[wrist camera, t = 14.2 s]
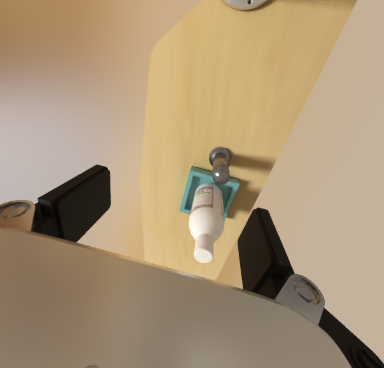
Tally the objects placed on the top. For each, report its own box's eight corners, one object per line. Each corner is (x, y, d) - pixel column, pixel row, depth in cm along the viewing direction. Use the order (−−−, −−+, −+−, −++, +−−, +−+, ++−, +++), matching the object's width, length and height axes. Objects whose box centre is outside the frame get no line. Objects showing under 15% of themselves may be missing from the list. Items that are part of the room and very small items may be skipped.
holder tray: (191, 166, 42) (190, 170, 39) (238, 179, 42) (239, 184, 39) (181, 205, 47) (179, 211, 45) (222, 216, 47) (223, 223, 45)
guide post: (223, 142, 39) (226, 157, 28) (234, 160, 40) (241, 181, 29) (205, 154, 40) (201, 172, 30) (216, 171, 42) (216, 194, 31)
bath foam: (190, 195, 44) (172, 256, 27) (206, 176, 42) (199, 231, 24) (210, 210, 46) (206, 278, 28) (227, 192, 43) (236, 256, 25)
